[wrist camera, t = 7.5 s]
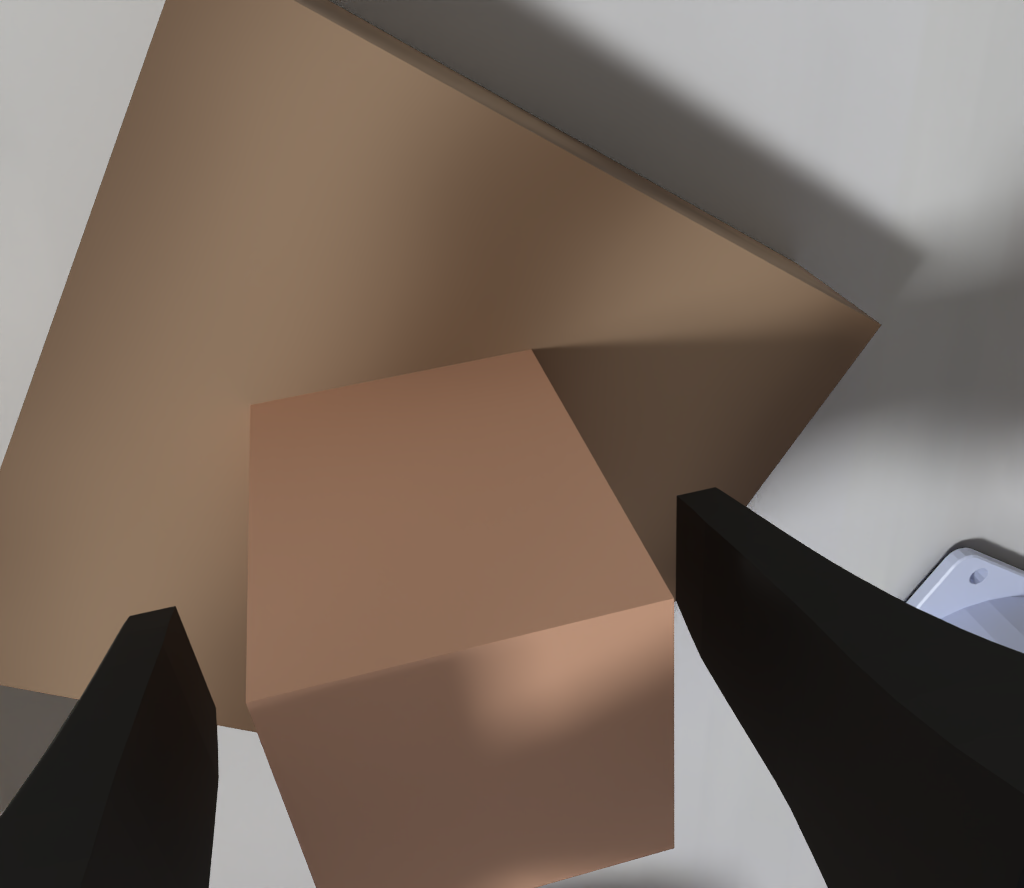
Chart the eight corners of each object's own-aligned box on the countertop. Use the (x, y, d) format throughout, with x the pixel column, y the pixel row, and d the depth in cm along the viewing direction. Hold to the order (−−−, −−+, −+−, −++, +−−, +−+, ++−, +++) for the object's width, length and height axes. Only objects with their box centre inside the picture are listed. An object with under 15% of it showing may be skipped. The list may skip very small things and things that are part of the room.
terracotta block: (530, 349, 14) (673, 598, 9) (551, 561, 17) (674, 848, 12) (250, 404, 14) (245, 702, 9) (313, 616, 16) (337, 944, 11)
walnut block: (796, 263, 18) (881, 324, 16) (507, 684, 23) (538, 784, 20) (200, -72, 13) (186, -59, 11) (-25, 558, 17) (-72, 671, 15)
